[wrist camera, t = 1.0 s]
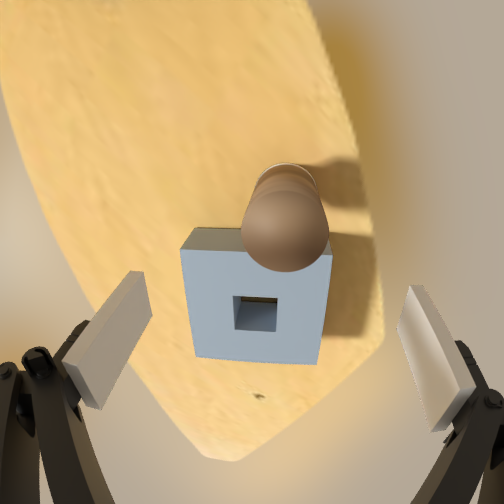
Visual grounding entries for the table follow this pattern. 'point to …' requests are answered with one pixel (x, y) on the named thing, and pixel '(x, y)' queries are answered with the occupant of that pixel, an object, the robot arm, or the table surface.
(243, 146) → the table surface
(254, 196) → the peg
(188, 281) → the seat block
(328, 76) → the table surface
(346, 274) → the table surface
